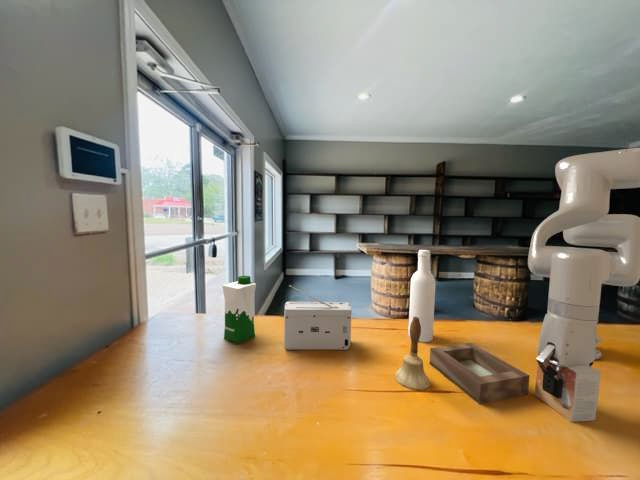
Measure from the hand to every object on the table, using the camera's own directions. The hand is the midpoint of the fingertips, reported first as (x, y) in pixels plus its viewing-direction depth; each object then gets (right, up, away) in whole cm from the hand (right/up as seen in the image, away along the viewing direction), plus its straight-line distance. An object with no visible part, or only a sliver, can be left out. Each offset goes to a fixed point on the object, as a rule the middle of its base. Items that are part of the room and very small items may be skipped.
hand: (564, 390), depth 54 cm
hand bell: (-29, -3, +9) cm, 31 cm away
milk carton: (-79, 0, +30) cm, 85 cm away
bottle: (-18, -1, +33) cm, 37 cm away
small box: (0, -4, 0) cm, 4 cm away
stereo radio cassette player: (-53, -1, +26) cm, 59 cm away
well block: (-13, -3, +10) cm, 17 cm away
